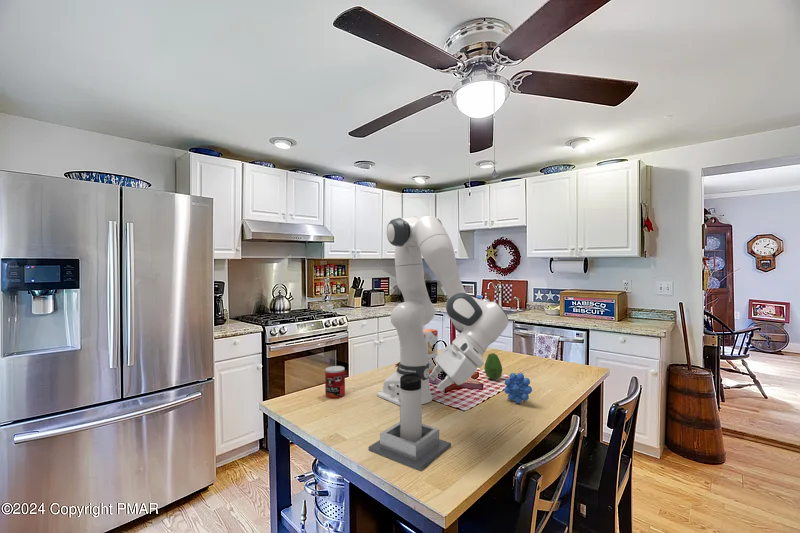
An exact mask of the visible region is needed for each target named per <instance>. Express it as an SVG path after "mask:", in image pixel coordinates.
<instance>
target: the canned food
mask: <svg viewBox="0 0 800 533" xmlns="http://www.w3.org/2000/svg"><path fill="white" fill-rule="evenodd" d="M324 372H325V374H324V376H325V377H324V381H325V382H324V384H325V387H324V388H325V397H326V398H327V399H332V400H333V399H335V400H336V399H340V398H342V397H344V396H345V394H346V369H345V367H344V366H342V365H331V366H328V367H326V368H325V370H324Z"/></svg>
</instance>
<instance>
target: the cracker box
mask: <svg viewBox="0 0 800 533" xmlns="http://www.w3.org/2000/svg"><path fill="white" fill-rule="evenodd" d="M423 333H424V337H425V340H426V341H427V343H428V362H429V375H430V374H431V373H432V371H433V369H434V367H435V365H434V363H433V360H434V362H435V363H436V361H435V358H436V356H437V355H438V343H437V344H436V345H435V347H434V349H433V351H432V348H433V345H434V344H435V343H436V342H437V341H438V339H439V337H438V335H439V331H438V330H437V329H433V328H424V329H423ZM432 358H433V360H432ZM436 364H437V363H436Z"/></svg>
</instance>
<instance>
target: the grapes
mask: <svg viewBox="0 0 800 533" xmlns="http://www.w3.org/2000/svg"><path fill="white" fill-rule="evenodd" d="M530 383H531V379H530V378H529V377H525V375H524V373H523V372H518V373H517V374H516V373H514V372H512V373H510V374H509V377H508V378H505V381H504V385H505V387H504V389H503V392H504V393H505V394H507V399H508V400H510V401H511V402H513V401H514V402H515V403H516V404H519V405H520V404H521V403H522V402H527V401H528V400H529V398H530V396H529V394H531V393H532V392H533V389H532V387H531V385H530Z"/></svg>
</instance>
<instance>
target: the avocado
mask: <svg viewBox="0 0 800 533" xmlns="http://www.w3.org/2000/svg"><path fill="white" fill-rule="evenodd" d="M502 373H503V366H502V362H501V361H500V358H499V356H498V354H497V353H489V354H488V355H487V358H486V360H485V361H484V374H485V375H486V376H487V377H488V379H491V380H495V381H496V380H499V379H500V378H501V377H502V375H503V374H502Z"/></svg>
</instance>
